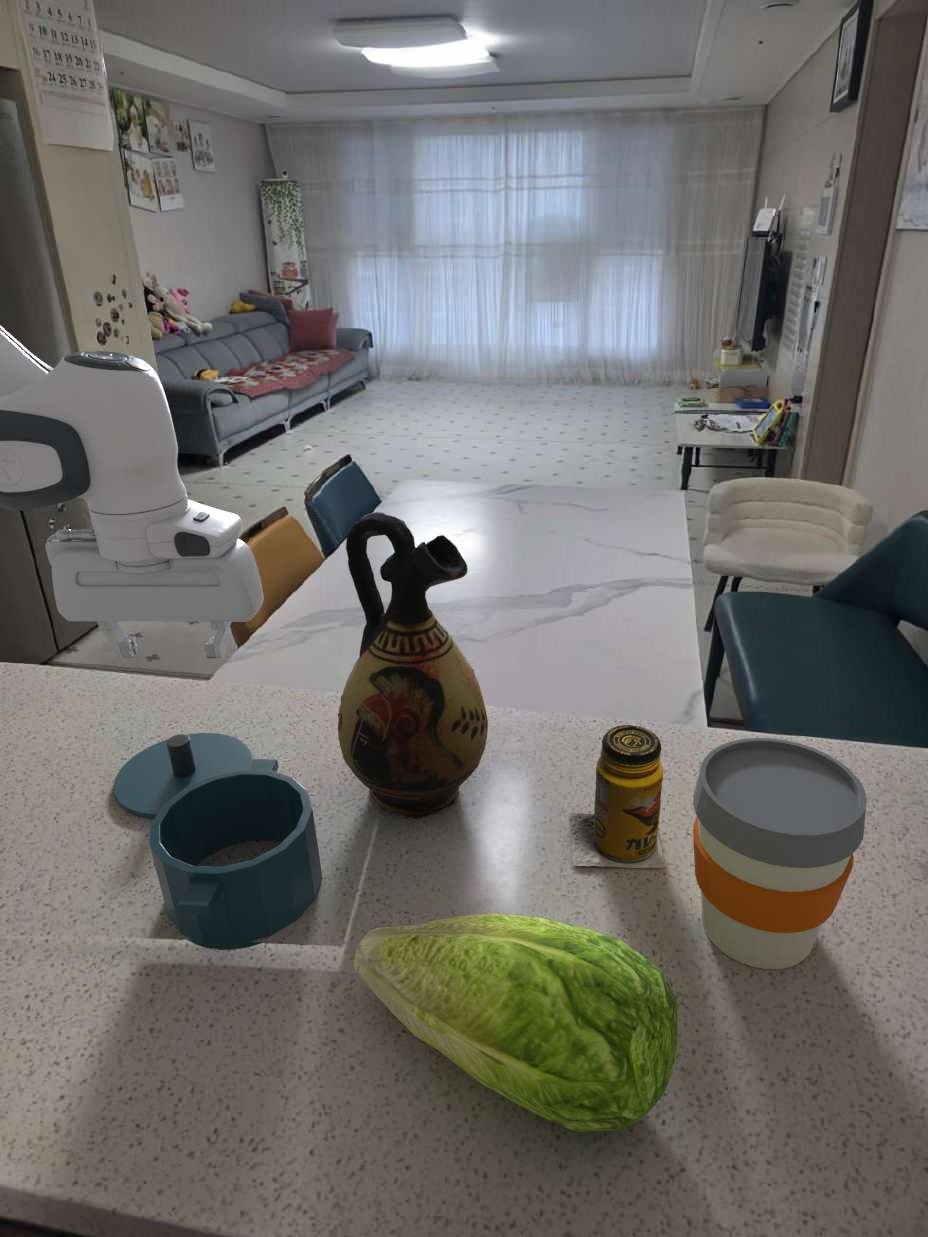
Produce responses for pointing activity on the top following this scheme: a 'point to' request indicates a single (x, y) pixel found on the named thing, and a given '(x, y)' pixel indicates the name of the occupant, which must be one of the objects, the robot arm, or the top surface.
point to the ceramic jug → (409, 679)
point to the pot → (247, 891)
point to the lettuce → (533, 1011)
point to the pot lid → (176, 769)
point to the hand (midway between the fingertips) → (172, 655)
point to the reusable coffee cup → (773, 846)
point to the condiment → (623, 804)
